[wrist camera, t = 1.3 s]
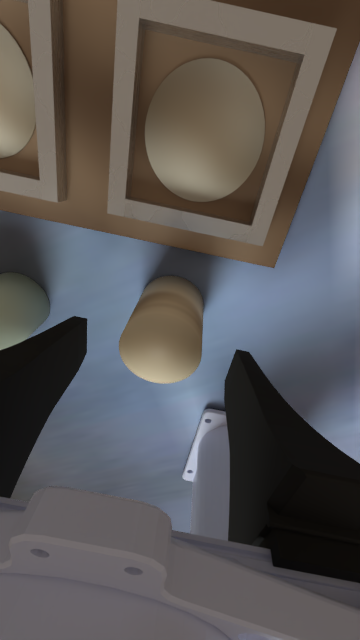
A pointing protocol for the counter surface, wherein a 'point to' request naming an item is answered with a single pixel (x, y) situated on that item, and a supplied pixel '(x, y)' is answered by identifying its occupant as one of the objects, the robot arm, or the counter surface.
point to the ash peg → (164, 331)
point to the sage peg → (20, 308)
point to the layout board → (170, 115)
